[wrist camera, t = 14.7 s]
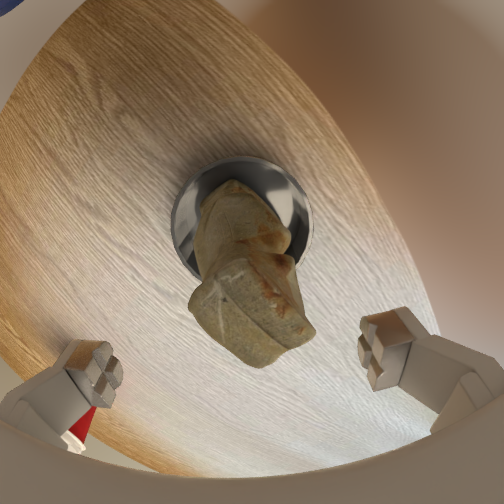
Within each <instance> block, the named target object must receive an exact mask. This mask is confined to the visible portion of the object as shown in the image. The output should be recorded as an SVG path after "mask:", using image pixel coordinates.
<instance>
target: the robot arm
mask: <svg viewBox="0 0 504 504" xmlns="http://www.w3.org/2000/svg"><path fill="white" fill-rule="evenodd" d="M360 329H361V331H362V335H361V336H360V337H359V338H358V346H357V347H358V356H359V360H360V362H361V365H362V367H364V368H366V369H368V373H367V378H368V381H369V383H370V385H371V387H372V390H373V392H375V391H379V390H383V389H386V388H390V387H394V386H397V385H399V386H398V387H400V388H401V389H403V390H404V391H405V392H407V393H408V394H410V395H411V396H413V397H414V398H416V399H417V400H418V401H420V402H421V403H423V404H424V405H426V406H427V407H429V408H430V409H432V410H433V411H435V412H436V413H437V414H439V415H438V417H437V419H436V420H435V422H434V423H433V425H432V426H431V429H430V432H431V435H429V436H427V437H424V438H422V439H420V440H417V441H415V442H413V443H410V444H408V445H405V446H402V447H400V448H397V449H394V450H391V451H388V452H385V453H382V454H379V455H376V456H373V457H370V458H366V459H363V460H359V461H355V462H352V463H348V464H343V465H339V466H335V467H330V468H325V469H320V470H314V471H308V472H302V473H295V474H287V475H278V476H267V477H250V478H206V477H190V476H179V475H170V474H162V473H155V472H149V471H143V470H137V469H132V468H127V467H123V466H118V465H114V464H110V463H106V462H102V461H99V460H95V459H92V458H89V457H85V456H82V455H79V454H76V453H73V452H70V451H68V444H67V443H66V442H65V441H64V440H63V439H62V438H61V436H62V435H63V434H64V433H65V432H66V431H67V430H68V429H69V428H70V427H71V426H72V425H73V424H74V423H75V422H77V421H78V420H79V419H80V418H81V417H82V416H83V415H84V414H85V413H86V412H87V411H88V410H89V409H90V408H91V406H95V407H102V408H111V406H112V403H113V401H114V399H115V396H116V392H115V389H116V388H117V387H119V386H120V385H121V382H122V380H123V369H122V365H121V363H120V361H119V360H118V359H117V358H116V357H115V356H113V351H114V350H113V348H112V347H111V345H110V343H109V342H106V341H95V340H76V339H75V340H72V341H71V342H70V343H69V344H68V346H67V347H66V348H65V350H64V351H63V352H62V354H61V355H60V357H59V358H58V359H57V361H56V362H55V364H54V365H53V367H48V368H47V369H45V370H43V371H42V372H40V373H39V374H37V375H35V376H34V377H32V378H31V379H29V380H27V381H26V382H24V383H22V384H21V385H19V386H18V387H16V388H14V389H13V390H11V391H10V392H9V393H7V394H6V396H5V397H4V399H3V401H2V402H1V403H0V504H504V370H503V368H502V367H501V366H500V365H499V363H498V362H497V361H496V360H495V359H494V358H493V357H490V356H487V355H485V354H483V353H480V352H477V351H475V350H472V349H470V348H467V347H465V346H462V345H460V344H457V343H455V342H452V341H450V340H447V339H445V338H442V337H440V336H437V335H435V334H434V335H430V334H429V333H428V331H427V330H426V329H425V328H424V326H423V325H422V324H421V323H420V322H419V320H418V319H417V318H416V317H415V316H414V314H413V313H412V312H411V311H410V310H409V308H407V307H405V306H404V307H400V308H396V309H392V310H391V311H386V312H382V313H377V314H373V315H368V316H364V317H362V318H361V321H360Z"/></svg>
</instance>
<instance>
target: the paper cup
mask: <svg viewBox="0 0 504 504" xmlns="http://www.w3.org/2000/svg"><path fill="white" fill-rule="evenodd" d="M96 408H97V407H95V406H91V408H90V409H89V410H88V411H87V412H86V413H85V414H84V415H83V416H82V417H81V418H80V419H79V420H78V421H77V422H75V423H74V424H73V425H72V426H71V427H70V428H69V429H68V430H67V431H66V432H65V433H64V434H63V435H62V436H61V438H62V439H63V440H64V441H65V442H66V443H67V444H68V451H70V452H73V453H76V454H78V453H79V454H80V453H81V451H83V450H85V449H86V447H85V446H84V445H83V444H84V441H85V438H86V435H87V432H88V430H89V427H90V424H91V421H92V418H93V416H94V413H95V410H96Z"/></svg>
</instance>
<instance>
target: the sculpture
mask: <svg viewBox="0 0 504 504" xmlns="http://www.w3.org/2000/svg"><path fill="white" fill-rule="evenodd" d="M199 208H200V213H201V219H200V222H199V225H198V228H197V231H196V234H195V237H194V242H193V246H194V252H195V256H196V260H197V264H198V268H199V271H200V275H201V278H202V281H203V282H202V284H201V285H199V286H198V287H197V288H196V289H195V291H194V292H193V293H192V295H191V298H190V300H189V303H188V310H189V311H190V312H191V313H192V314H193V315H194V317H195V319H196V320H197V322H198V323H199V325H200V326H201V327H202V328H203V329H204V330H205V331H206V333H207V334H208V335H210V336H211V337H212V338H213V339H214V340H215V341H217V342H218V343H219V344H221V345H222V346H223V347H225V348H226V349H227V350H229V351H230V352H231V353H233V354H234V355H235V356H236V357H238V358H239V359H240V360H241V361H243V362H244V363H246V364H247V365H249V366H252V367H254V368H263V367H265V366H268V365H270V364H272V363H274V362H275V361H276V360H277V359H278V358H279V357H280V356H281V355H282V354H283V353H285V352H286V351H288V350H291V349H293V348H296V347H299V346H301V345H303V344H305V343H307V342H309V341H310V340H311V339H313V338H314V336H315V335H316V330H315V329H314V327H313V326H312V325H311V323H310V322H309V321H308V319H307V318H306V316H305V311H304V305H303V301H302V297H301V293H300V289H299V285H298V281H297V276H296V270H295V260H294V258H293V257H291V256H290V255H286V254H284V252H285V251H286V249H287V248H288V246H289V244H290V241H291V233H290V231H289V230H288V229H287V228H286V227H285V226H284V225H283V224H282V222H281V221H280V219H279V218H278V216H277V215H276V214H275V212H274V211H273V210H272V209H271V208H270V207H269V206H268V205H267V204H266V203H265V202H264V201H263V200H262V198H260V197H259V196H258V195H257V194H256V193H255V192H254V191H253V190H252V189H250V188H249V187H248V186H246V185H245V184H243V183H241V182H239V181H237V180H235V179H230V180H228V181H226V182H225V183H223V184H222V185H220V186H219V187H217V188H216V189H215V190H213V191H212V192H211V193H210V194H209V195H208V196H206V197H205V198H204V199H203V200H202V201H201V203H200V207H199Z"/></svg>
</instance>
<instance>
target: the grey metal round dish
mask: <svg viewBox="0 0 504 504" xmlns="http://www.w3.org/2000/svg"><path fill="white" fill-rule="evenodd" d="M230 179H235V180H237V181H239V182H241V183H243V184H245V185H246V186H248V187H249V188H250V189H252V190H253V191H254V192H255V193H256V194H257V195H258V196H259V197H260V198H262V200H263V201H264V202H265V203H266V204H267V205H268V206H269V207H270V208H271V209H272V210H273V211H274V212H275V214H276V215H277V216H278V218H279V219H280V221H281V222H282V224H283V225H284V226H285V227H286V228H287V229H288V230H289V231H290V233H291V241H290V244H289V246H288V248H287V249H286V251H285V252H284V254H286V255H290V256H291V257H293V258H294V260H295V270H297V269H298V267H299V266H300V265H301V264H302V263H303V261H304V259H305V257H306V255H307V253H308V251H309V249H310V246H311V241H312V236H313V231H314V226H313V212H312V209H311V206H310V203H309V201H308V198H307V195H306V193H305V192H304V191H303V189H302V188H301V186H300V185H299V184H298V182H297V181H296V179H295V178H293V177H292V176H291V175H290V174H288V173H287V172H286V171H285V170H283V169H282V168H281V167H279V166H278V165H276V164H274V163H272V162H269V161H267V160H264V159H262V158H259V157H253V156H245V155H240V156H233V157H227V158H223V159H220V160H218V161H215V162H213V163H211V164H209V165H206V166H204V167H203V168H201V169H200V170H199V171H197V172H196V173H195V174H194V175H193V176H192V177H190V178H189V179H188V180H187V182H186V183H185V184H184V186H183V187H182V189H181V190H180V192H179V193H178V195H177V197H176V200H175V203H174V206H173V209H172V212H171V235H172V240H173V244H174V248H175V250H176V252H177V254H178V256H179V258H180V260H181V261H182V263H183V265H184V266H185V267H186V268H187V269H188V270H189V271H190V272H191V273H192V274H193V276H195V277H196V278H197V279H199V280H200V281H202V278H201V275H200V271H199V268H198V264H197V260H196V256H195V252H194V246H193V242H194V237H195V234H196V231H197V228H198V225H199V222H200V219H201V213H200V208H199V207H200V203H201V201H202V200H203V199H204V198H205V197H206V196H208V195H209V194H210V193H211V192H212V191H213V190H215V189H216V188H217V187H219V186H220V185H222V184H223V183H225V182H226V181H228V180H230ZM202 282H203V281H202Z"/></svg>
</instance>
